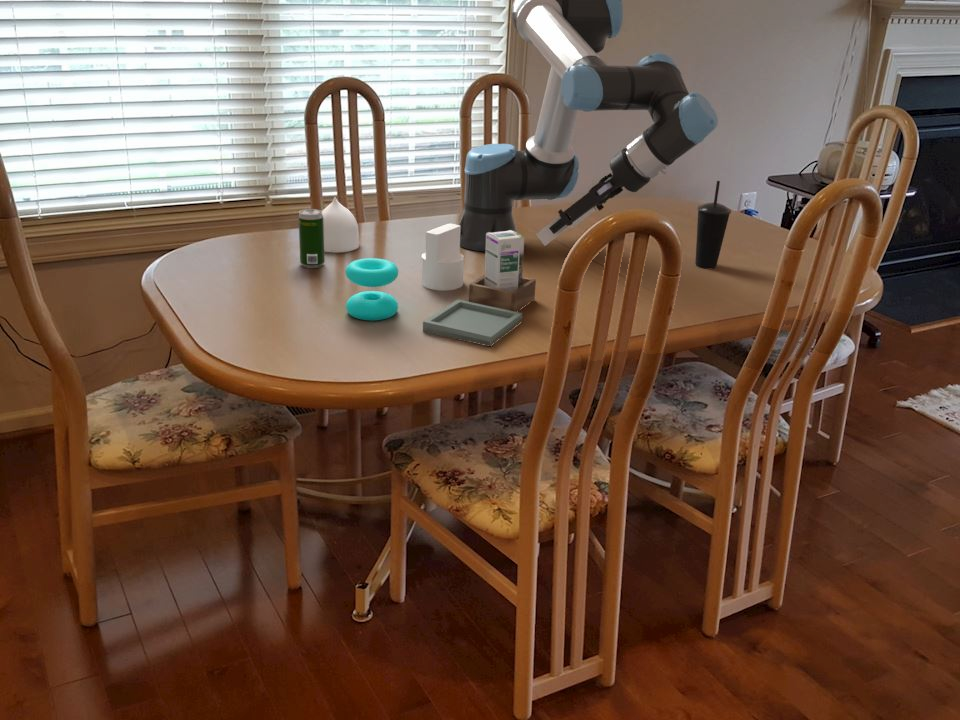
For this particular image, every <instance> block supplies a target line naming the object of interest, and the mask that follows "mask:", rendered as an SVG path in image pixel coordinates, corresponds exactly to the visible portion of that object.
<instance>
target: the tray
mask: <svg viewBox="0 0 960 720" xmlns="http://www.w3.org/2000/svg"><path fill="white" fill-rule="evenodd" d="M521 321H522V322H523V312H520V311H519V312H514V311H509V310H505V309H500V308H495V307H491V306H486V305H481V304H477V303H472V302H469V301H467V300H463V299H456V300H454V301H453V302H452V303H450V304H448V305H447V306H445V307H444V308H442V309H440V310H439V311H438V312H435V313H434V314H432V315H431V316H429V317H428V318H426V319H424V320H423V321H422V332H424V333H428V334H432V335H437V336H441V337H445V338H449V337H450V339H453V338H455V339H454V340H457V339H461V340H460V341H462V340H465V341H464V342H466V341H471V342H476V343H480V344H485V345H489V346H491V345H492V344H493V343H495V342H496V341H497V340H498V339H500V338H501V337H502V336H504V335H505V334H506V333H508V332H509V331H510V330H512V329H513V328H514V327H515V326H516V325H518V324H519V323H520V322H521ZM518 326H519V325H518ZM513 330H514V329H513ZM513 330H512V331H513ZM509 333H510V332H509ZM509 333H508V334H509ZM504 337H505V336H504ZM500 340H501V339H500ZM496 343H497V342H496ZM496 343H495V344H496ZM491 347H492V346H491Z"/></svg>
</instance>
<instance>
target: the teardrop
mask: <svg viewBox="0 0 960 720" xmlns="http://www.w3.org/2000/svg"><path fill="white" fill-rule="evenodd" d="M321 211H322V214H323V221H324V253H336V254H337V253H348V252H351V251H354V250H357V249H358V248H359V247H360V233H359V224H358V222H357V218H356V217H355V216H354V214H353V213H352V212H351V211H350V210H349V209H348V208H347V207H345V206H344V205H342V203H340V202H339V200H338V199H337V197H336V196H334V197H333V200H332V201H331V202H330V203H329V205H327V206H326V207H325V208H324V209H323V210H321Z"/></svg>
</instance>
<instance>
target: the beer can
mask: <svg viewBox="0 0 960 720" xmlns="http://www.w3.org/2000/svg"><path fill="white" fill-rule="evenodd" d="M322 211H323V210H321V209H316V208H308V209H307V208H305V209H302V210H299V211H298V212H299V214H298V237H299V263H300V264H301V267H304V268H306V269H318V268H321V267H323V266H324V264H325V261H326V260H325V259H326V258H325V252H324V221H323V214H322Z"/></svg>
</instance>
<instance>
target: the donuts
mask: <svg viewBox="0 0 960 720" xmlns="http://www.w3.org/2000/svg"><path fill="white" fill-rule="evenodd" d="M345 275H346V277H347V279H348V280H349V281H350V282H351V283H353V284H355V285H357V286H361V287H365V288H366V287H367V288H380V287H383V286H387V285H390V284H392V283H393V282H394V281H396V279H397V277H398V276H399V269H398V266H397V265H396V264H395V263H393V262H392V261H390V260H387V259H383V258H376V257H374V258H373V257H370V258H369V257H368V258H367V257H366V258H361V259H360V258H358V259H356V260H353V261H351V262H349V263H348V265H347V266H346V269H345ZM345 306H346V307H345V308H346V311H347V313H348V314H349V315H350V316H351V317H352V318H356V319H359V320H362V321H372V322H373V321H382V320H386V319H389V318H392V317H393V316H394V315H395V314H396V313H397V312H398V309H399V303H398V302H397V300H396V298H395V297H393V296H392V295H391V294H389V293H386V292H382V291H379V290H378V291H377V290H367V291H361V292H357V293H355V294H353V295H352V296H350V297H349V298H348V299H347V302H346V304H345Z"/></svg>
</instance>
